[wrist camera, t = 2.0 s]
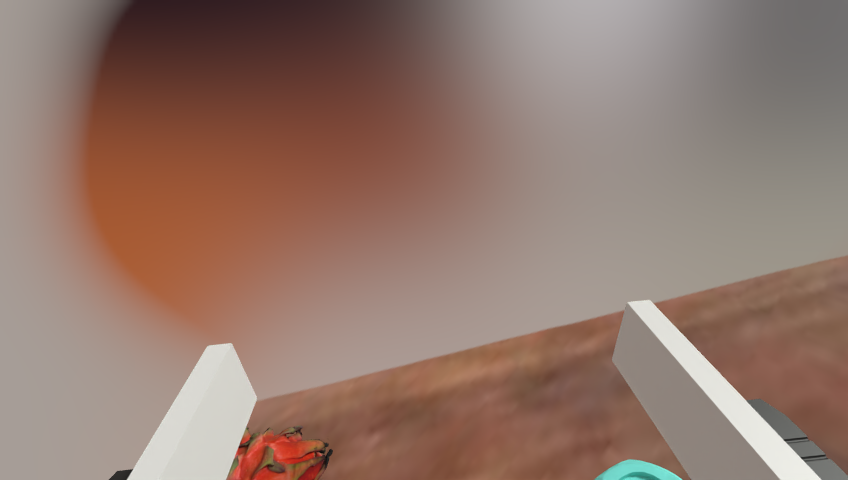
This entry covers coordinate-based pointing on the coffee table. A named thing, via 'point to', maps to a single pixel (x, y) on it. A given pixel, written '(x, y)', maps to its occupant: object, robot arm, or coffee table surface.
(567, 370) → the coffee table surface
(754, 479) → the robot arm
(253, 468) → the dragon fruit
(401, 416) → the coffee table surface
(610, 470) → the decorative dice
